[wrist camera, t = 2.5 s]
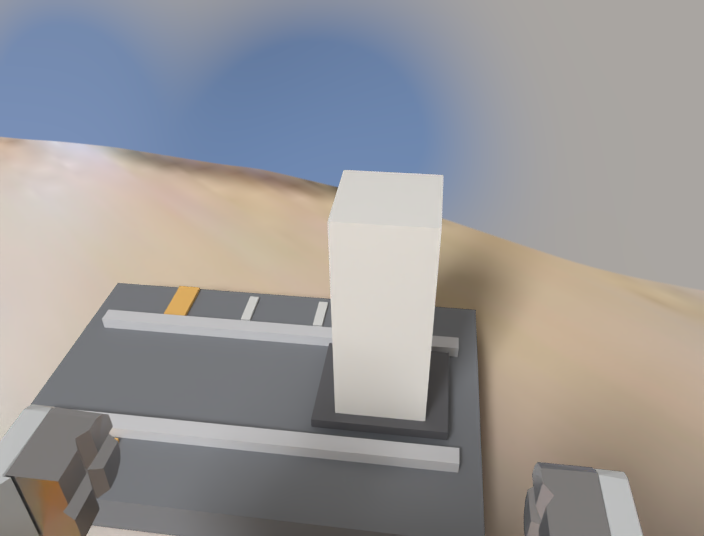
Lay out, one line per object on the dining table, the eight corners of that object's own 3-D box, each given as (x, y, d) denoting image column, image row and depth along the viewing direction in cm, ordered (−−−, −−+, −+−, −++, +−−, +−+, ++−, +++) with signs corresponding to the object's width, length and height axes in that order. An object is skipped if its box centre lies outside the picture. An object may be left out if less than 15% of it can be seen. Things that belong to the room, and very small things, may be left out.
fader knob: (448, 360, 31) (468, 170, 25) (447, 439, 27) (471, 238, 21) (329, 350, 32) (321, 163, 26) (311, 426, 28) (297, 227, 22)
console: (471, 336, 36) (476, 301, 35) (479, 572, 25) (486, 535, 23) (125, 309, 39) (115, 274, 37) (-11, 512, 27) (-33, 475, 26)
